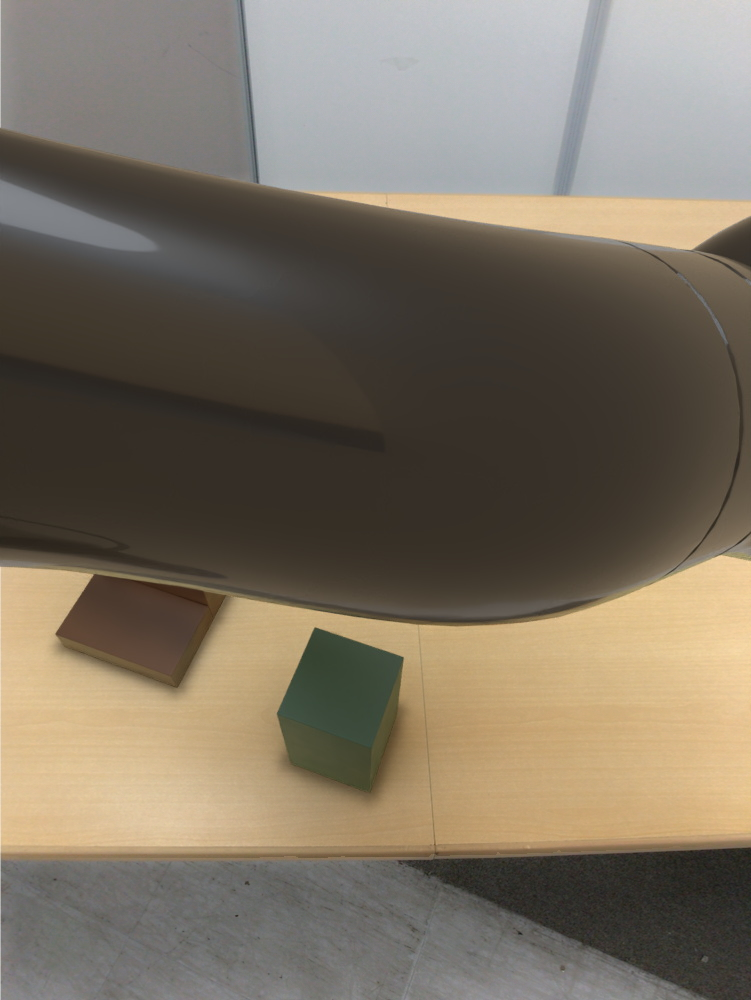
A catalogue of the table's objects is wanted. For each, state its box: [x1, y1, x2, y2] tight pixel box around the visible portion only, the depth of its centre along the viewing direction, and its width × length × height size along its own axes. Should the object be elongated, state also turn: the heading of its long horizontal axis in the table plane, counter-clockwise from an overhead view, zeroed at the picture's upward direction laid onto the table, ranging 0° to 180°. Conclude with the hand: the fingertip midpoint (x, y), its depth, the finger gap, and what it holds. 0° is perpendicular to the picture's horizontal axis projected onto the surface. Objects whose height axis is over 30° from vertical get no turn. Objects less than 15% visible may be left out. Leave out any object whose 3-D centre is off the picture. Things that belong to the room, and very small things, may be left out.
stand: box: [276, 626, 405, 794], centre depth 66 cm, size 8×8×14 cm
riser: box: [55, 574, 227, 688], centre depth 77 cm, size 24×13×11 cm, turn 160°
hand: (249, 505), depth 48 cm, fingers closed on amber bottle, 5 cm apart
